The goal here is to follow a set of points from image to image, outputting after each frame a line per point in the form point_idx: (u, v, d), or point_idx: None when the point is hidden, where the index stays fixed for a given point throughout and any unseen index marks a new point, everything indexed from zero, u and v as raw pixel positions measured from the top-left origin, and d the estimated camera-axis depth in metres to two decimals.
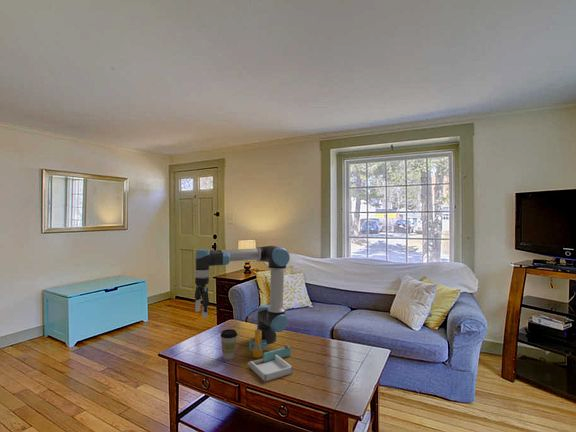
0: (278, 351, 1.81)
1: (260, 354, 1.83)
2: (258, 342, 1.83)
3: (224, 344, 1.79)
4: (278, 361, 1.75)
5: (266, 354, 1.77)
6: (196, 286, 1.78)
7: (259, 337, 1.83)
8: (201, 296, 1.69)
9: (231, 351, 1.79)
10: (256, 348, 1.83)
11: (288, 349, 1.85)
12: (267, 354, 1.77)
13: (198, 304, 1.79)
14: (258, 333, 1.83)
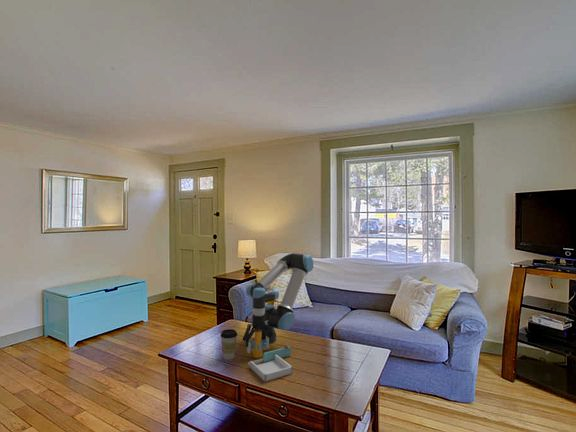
0: (278, 351, 1.81)
1: (260, 354, 1.83)
2: (258, 342, 1.83)
3: (224, 344, 1.79)
4: (278, 361, 1.75)
5: (266, 354, 1.77)
6: None
7: (259, 337, 1.83)
8: None
9: (231, 351, 1.79)
10: (256, 348, 1.83)
11: (288, 349, 1.85)
12: (267, 354, 1.77)
13: (267, 341, 1.88)
14: (258, 333, 1.83)
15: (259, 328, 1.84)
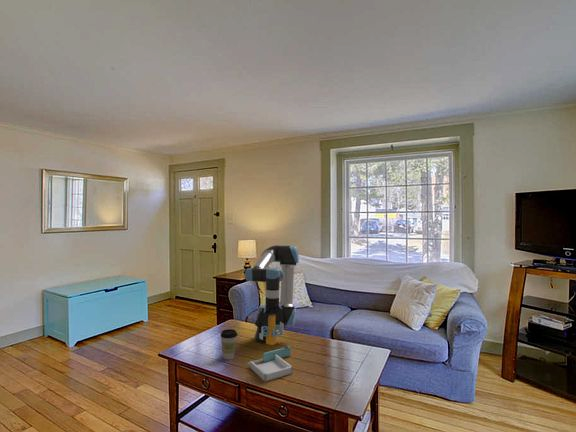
0: (278, 351, 1.81)
1: (275, 341, 1.65)
2: (272, 328, 1.65)
3: (224, 344, 1.79)
4: (278, 361, 1.75)
5: (266, 354, 1.77)
6: None
7: (273, 322, 1.66)
8: None
9: (231, 351, 1.79)
10: (270, 334, 1.65)
11: (288, 349, 1.85)
12: (267, 354, 1.77)
13: (281, 327, 1.70)
14: (272, 318, 1.65)
15: (273, 312, 1.67)
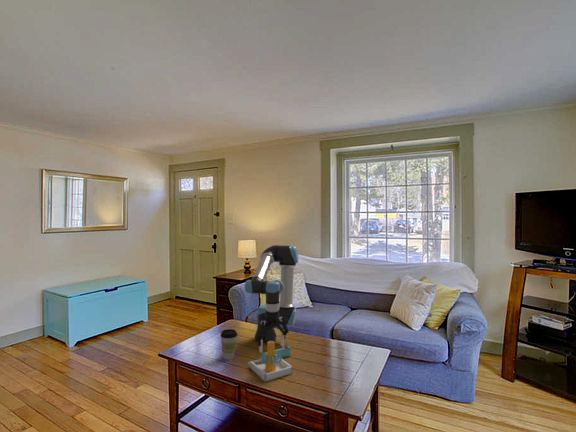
0: (278, 351, 1.81)
1: (274, 368, 1.65)
2: (271, 355, 1.65)
3: (224, 344, 1.79)
4: (278, 361, 1.75)
5: None
6: None
7: (272, 349, 1.65)
8: None
9: (231, 351, 1.79)
10: (269, 362, 1.65)
11: (288, 349, 1.85)
12: None
13: (282, 339, 1.71)
14: (271, 345, 1.65)
15: (273, 325, 1.67)
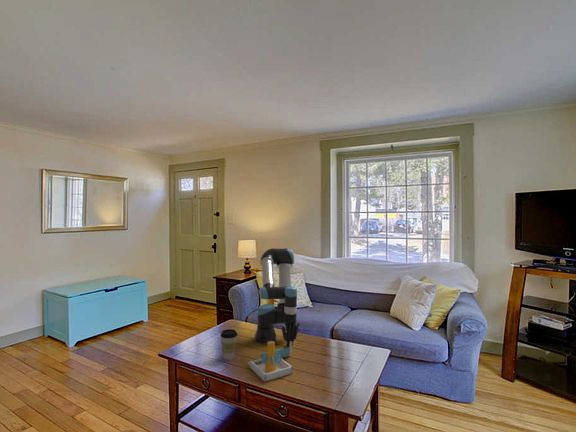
0: (277, 351, 1.81)
1: (274, 368, 1.65)
2: (271, 355, 1.65)
3: (224, 344, 1.79)
4: (278, 361, 1.75)
5: None
6: None
7: (272, 349, 1.65)
8: None
9: (231, 351, 1.79)
10: (269, 362, 1.65)
11: (287, 349, 1.84)
12: None
13: None
14: (271, 345, 1.65)
15: (291, 327, 1.85)
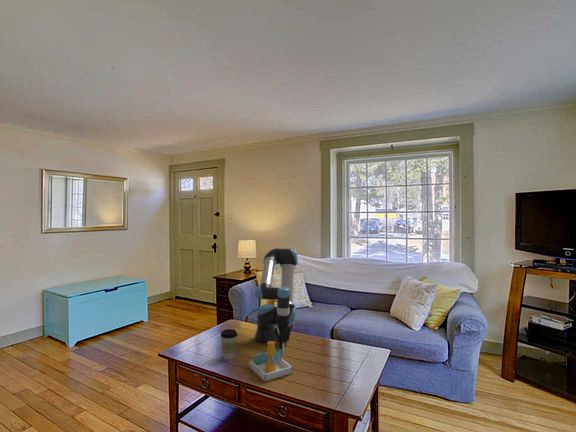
0: None
1: (274, 368, 1.65)
2: (271, 355, 1.65)
3: (224, 344, 1.79)
4: (278, 361, 1.75)
5: (257, 356, 1.73)
6: None
7: (272, 349, 1.65)
8: None
9: (231, 351, 1.79)
10: (269, 362, 1.65)
11: (279, 351, 1.82)
12: (258, 356, 1.74)
13: None
14: (271, 345, 1.65)
15: (284, 328, 1.83)
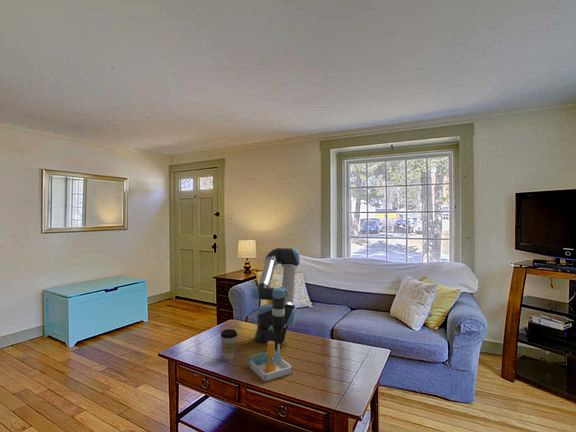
0: (264, 355, 1.76)
1: (274, 368, 1.65)
2: (271, 355, 1.65)
3: (224, 344, 1.79)
4: (278, 361, 1.75)
5: (251, 358, 1.72)
6: None
7: (272, 349, 1.65)
8: None
9: (231, 351, 1.79)
10: (269, 362, 1.65)
11: None
12: (252, 358, 1.72)
13: None
14: (271, 345, 1.65)
15: (279, 329, 1.81)
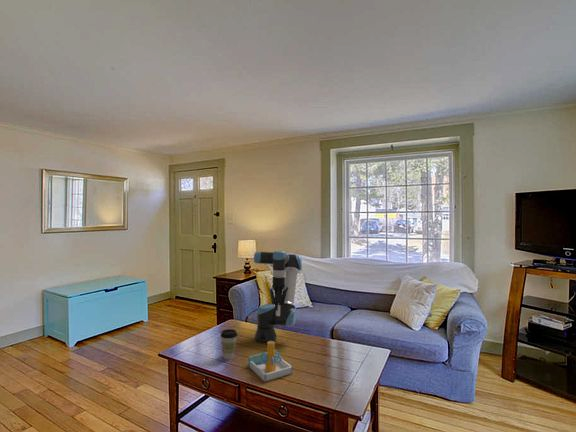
0: (264, 355, 1.76)
1: (274, 368, 1.65)
2: (271, 355, 1.65)
3: (224, 344, 1.79)
4: (278, 361, 1.75)
5: (251, 358, 1.72)
6: None
7: (272, 349, 1.65)
8: None
9: (231, 351, 1.79)
10: (269, 362, 1.65)
11: None
12: (252, 358, 1.72)
13: None
14: (271, 345, 1.65)
15: (279, 290, 1.85)
